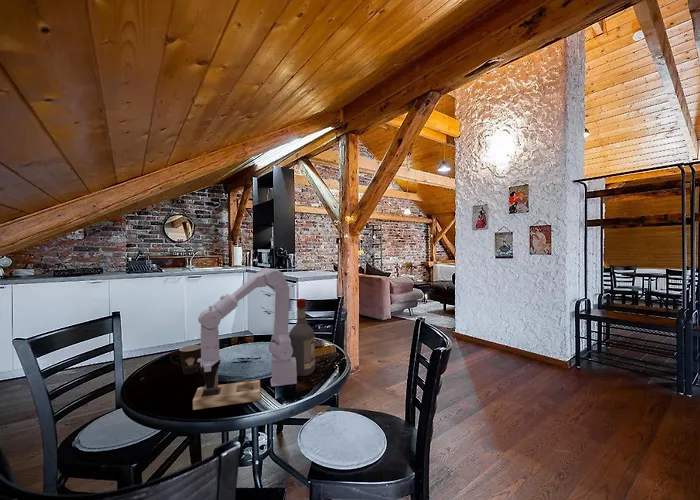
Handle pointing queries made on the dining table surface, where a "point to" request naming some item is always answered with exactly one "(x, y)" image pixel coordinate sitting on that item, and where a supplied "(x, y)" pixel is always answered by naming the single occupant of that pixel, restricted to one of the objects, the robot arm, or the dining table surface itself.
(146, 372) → the dining table surface
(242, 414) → the dining table surface
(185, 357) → the coffee mug
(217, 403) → the block
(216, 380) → the drill rod
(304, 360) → the liquor
